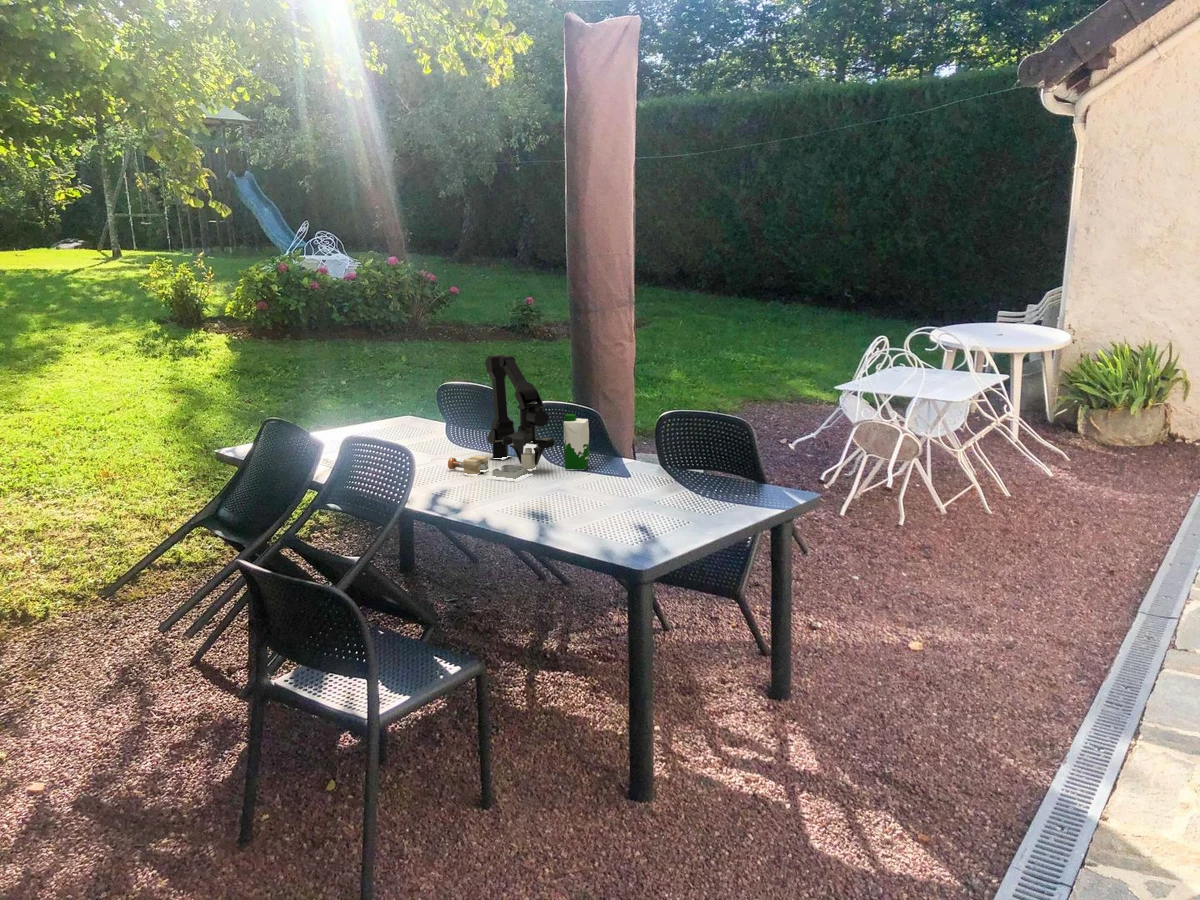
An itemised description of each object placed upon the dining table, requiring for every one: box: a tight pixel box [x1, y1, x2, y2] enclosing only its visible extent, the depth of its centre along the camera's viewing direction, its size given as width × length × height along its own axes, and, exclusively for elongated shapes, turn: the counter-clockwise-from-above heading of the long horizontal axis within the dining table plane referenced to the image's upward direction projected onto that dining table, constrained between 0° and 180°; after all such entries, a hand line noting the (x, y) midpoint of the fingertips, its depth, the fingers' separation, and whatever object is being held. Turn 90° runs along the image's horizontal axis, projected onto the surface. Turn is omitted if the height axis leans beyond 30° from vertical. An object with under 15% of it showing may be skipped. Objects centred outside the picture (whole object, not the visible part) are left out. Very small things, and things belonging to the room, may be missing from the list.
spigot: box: [520, 447, 537, 469], centre depth 346 cm, size 4×4×8 cm
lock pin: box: [447, 457, 487, 470], centre depth 343 cm, size 4×15×4 cm, turn 65°
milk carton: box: [563, 413, 590, 470], centre depth 346 cm, size 9×9×20 cm
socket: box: [491, 464, 528, 479], centre depth 336 cm, size 12×12×3 cm
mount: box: [462, 455, 489, 474], centre depth 342 cm, size 9×5×5 cm, turn 155°
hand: (528, 464), depth 346 cm, fingers open, 6 cm apart
